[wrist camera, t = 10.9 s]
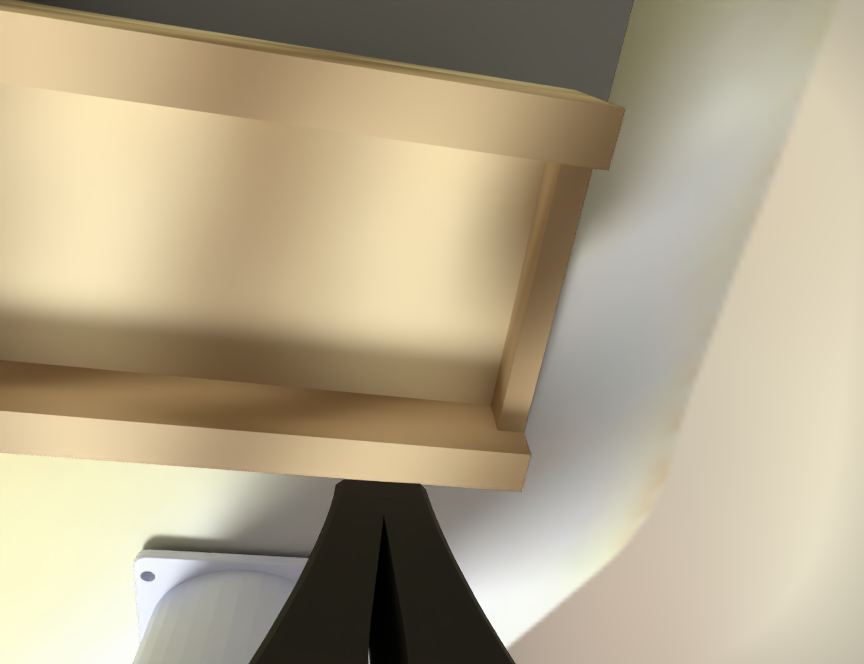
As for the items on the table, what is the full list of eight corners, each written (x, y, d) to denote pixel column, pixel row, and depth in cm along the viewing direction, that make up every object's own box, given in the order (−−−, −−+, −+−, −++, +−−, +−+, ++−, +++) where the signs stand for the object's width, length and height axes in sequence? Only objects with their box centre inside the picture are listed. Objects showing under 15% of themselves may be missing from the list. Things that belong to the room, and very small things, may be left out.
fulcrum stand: (642, -89, 15) (703, -113, 13) (510, 440, 22) (529, 504, 19) (-758, -370, 12) (-1137, -499, 9) (-399, 365, 19) (-544, 429, 16)
